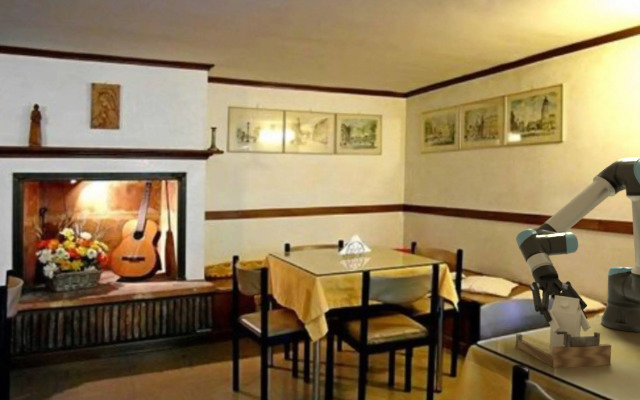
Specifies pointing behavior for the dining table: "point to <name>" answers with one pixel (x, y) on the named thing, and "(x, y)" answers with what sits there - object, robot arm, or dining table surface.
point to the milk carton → (565, 319)
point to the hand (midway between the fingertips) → (572, 329)
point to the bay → (571, 351)
